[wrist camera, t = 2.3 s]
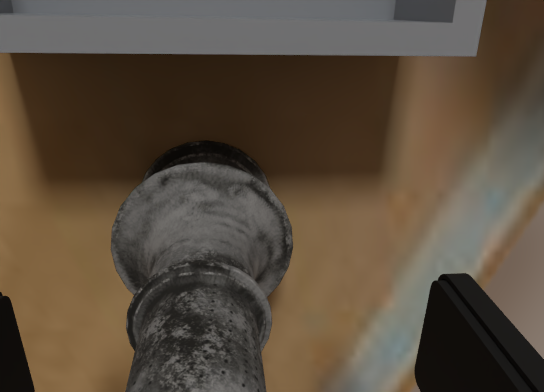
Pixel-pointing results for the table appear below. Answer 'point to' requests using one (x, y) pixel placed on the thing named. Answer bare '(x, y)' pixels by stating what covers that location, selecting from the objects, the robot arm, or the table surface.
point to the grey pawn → (200, 270)
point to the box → (243, 27)
